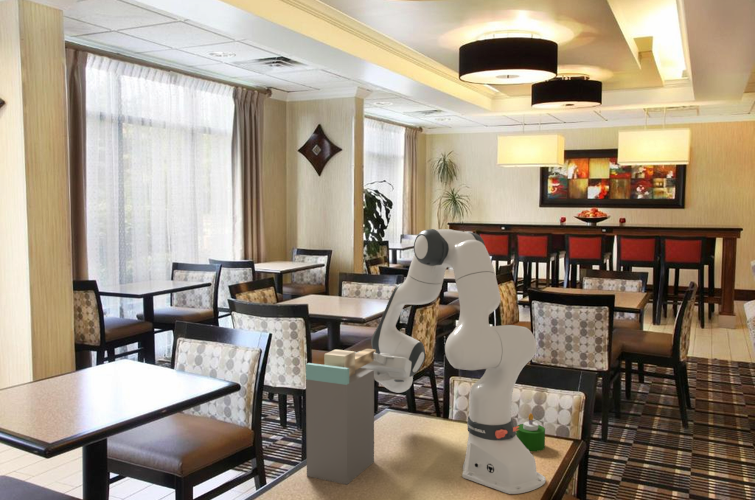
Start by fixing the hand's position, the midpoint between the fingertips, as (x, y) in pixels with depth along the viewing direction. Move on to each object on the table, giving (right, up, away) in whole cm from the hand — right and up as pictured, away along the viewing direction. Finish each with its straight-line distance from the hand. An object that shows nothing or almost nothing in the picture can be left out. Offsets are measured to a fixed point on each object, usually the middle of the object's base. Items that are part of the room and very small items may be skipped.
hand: (366, 354), depth 188 cm
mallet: (-4, -3, -7) cm, 8 cm away
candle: (+48, -28, +4) cm, 56 cm away
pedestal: (-7, -29, -12) cm, 32 cm away
